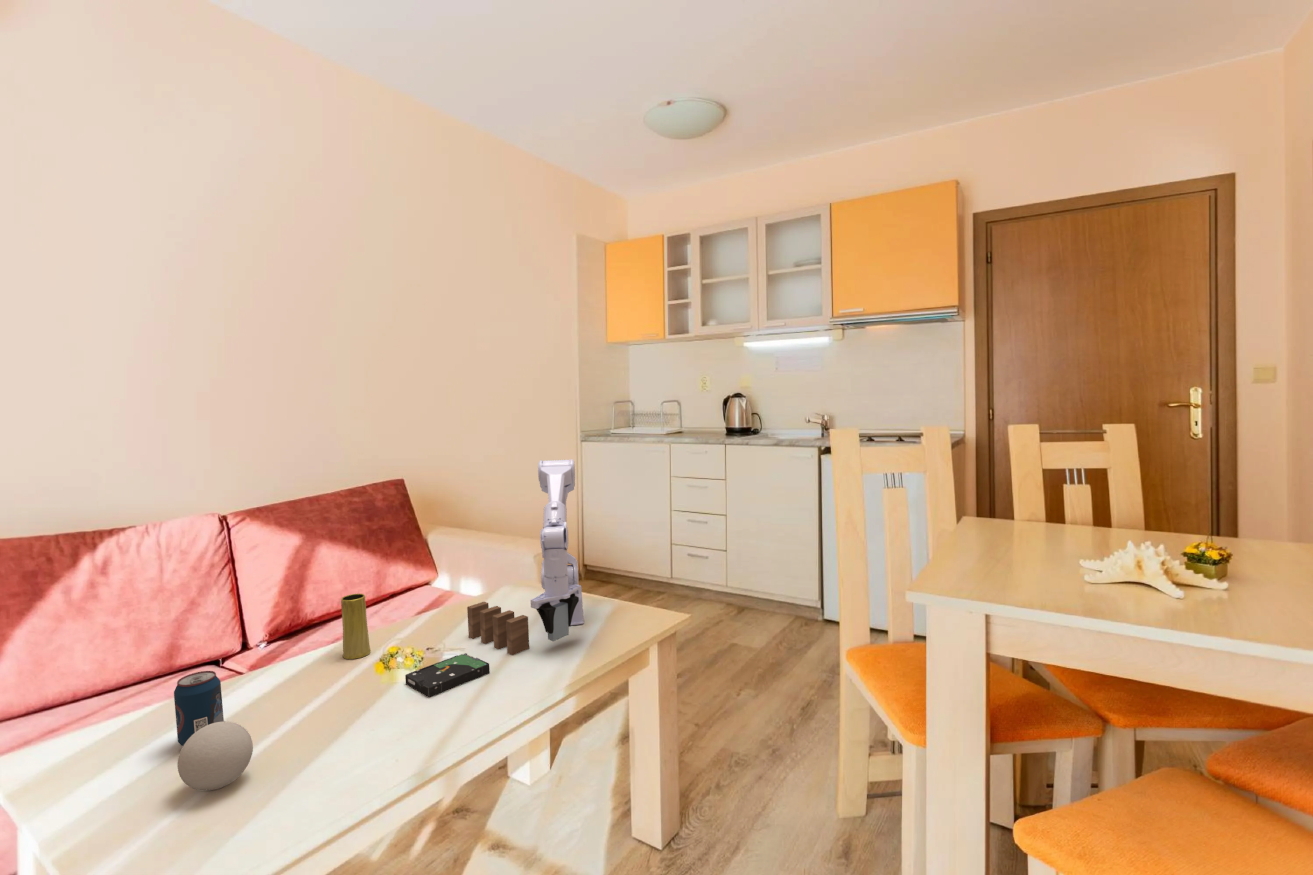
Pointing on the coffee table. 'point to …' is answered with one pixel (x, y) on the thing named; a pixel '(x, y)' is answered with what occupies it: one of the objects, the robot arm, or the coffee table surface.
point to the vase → (354, 626)
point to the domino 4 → (560, 622)
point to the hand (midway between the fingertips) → (558, 628)
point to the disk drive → (447, 674)
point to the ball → (215, 756)
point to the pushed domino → (475, 619)
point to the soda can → (197, 703)
